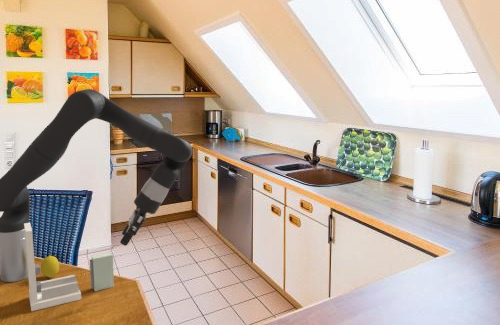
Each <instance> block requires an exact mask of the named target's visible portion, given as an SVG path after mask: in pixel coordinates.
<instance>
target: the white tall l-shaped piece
mask: <svg viewBox="0 0 500 325" xmlns="http://www.w3.org/2000/svg"><path fill="white" fill-rule="evenodd" d="M24 229H25V242H26V254H27V266H28V278H27V279H28V288H29V291H28V298H29V305H30V311H31V312H35V311H38V310H43V309H46V308H51V307H55V306H58V305H59V306H60V305H63V304H67V303H72V302H76V301H80V300H82V292H81V290H80V288H79V282H78V280H76V274H71V275H67V276H62V277H58V278H57V277H56V278H50V279H48V280H38V281H37V276H39V275H41V266H40V264H39V263H37V264H36V263H35V261H36V260H35V251H34V250H35V249H34V238H33V237H34V235H33V228H32V225H31V222H28V223H24Z"/></svg>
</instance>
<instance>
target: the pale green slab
mask: <svg viewBox="0 0 500 325" xmlns="http://www.w3.org/2000/svg"><path fill="white" fill-rule="evenodd" d="M89 275H90V287H91V288H92V289H93V290H94V292H97V291H101V290H106V289H109V288H114V287H115V278H114V255H113V254H112V252H106V253H101V254H95V255H91V259H89Z"/></svg>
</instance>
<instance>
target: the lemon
mask: <svg viewBox="0 0 500 325" xmlns="http://www.w3.org/2000/svg"><path fill="white" fill-rule="evenodd" d="M59 270H60V263H59V260H58V258H57V257H55V256H53V255H48V256H46V257H44V258H43V259H42V261H41V263H40V272H41V274H42V275H43V276H45V277H47V278H50V279H53V277H55V276H56V275H57V274H58V272H59Z"/></svg>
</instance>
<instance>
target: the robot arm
mask: <svg viewBox="0 0 500 325" xmlns="http://www.w3.org/2000/svg"><path fill="white" fill-rule="evenodd" d="M94 119H97V120H100V121H103V122H106V123H108V124H111V125H113V126H114V127H116V128H117V129H119V130H120V131H121V132H122V133H124V134H125V135H126V136H127V137H129V138H131V140H133V141H135V142H137V143H139V144H140V145H143V146H144V147H147V148H148V149H151V150H154V151H156V152H158V153H160V154H161V155H163V156H165V157H164V158H163V160H162V161H161V162H160V163H159V164H158V165H157V166H156V168H155V169H154V171H153V172H152V174H151V175H150V177H149V178H148V180H146V182H145V183H144V185H143V186H142V188H141V189H140V191H139V193H138V194H137V195H136V197H135V199H134V201H133V203H134V205H135V206H136V209H133V212H132V214H131V215H130V217H129V218H128V221H127V224H126V226H125V227H124V229H122V230H123V231H122V232H121V235H123V236H122V238H121V239H120V244H121V245H122V246H128V245H129V243H130V241H131V240H132V238H133V237H134V236H136V235H137V233H138V231H139V230H140V229H141V227H142V225H143V223H144V222H145V221H146V219H147V213H148V214H150V215H155V214H156V213H157V212H158V209H159V208H160V206H161V205H162V203H163V202H164V200H165V199H166V197H167V196H168V193H169V191H170V189H171V188H172V186H173V185H174V183H175V182H176V179H177V178H178V176H179V175H180V172H181V171H182V170H183V169H184V167H185V166H186V164H187V163H188V161H190V159H191V157H192V155H193V146H192V145H191V143H189V141H187V140H185V139H183V138H180V137H178V136H176V135H173V134H171V133H169V132H166V131H165V130H164V129H162V128H161V127H159V126H157V125H155V124H153V123H151V122H148V121H146V120H145V119H142V118H140V117H138V116H137V115H134V114H133V113H132V112H129V111H128V110H126V109H124V108H123V107H121V106H119V105H118V104H117V103H115V102H113V101H112V100H110V99H109V98H108V97H106V96H105V95H103V93H101V92H99V90H98V91H97V90H96V89H92V88H91V89H89V88H86V89H81V90H76V91H75V92H73V93H71V94H70V95H69V96H68V98H66V100H65V102H64V103H63V105H62V106H61V108H60V110H59V111H58V113H57V114H56V115H55V117H54V118H53V119H52V121H51V122H50V123H49V124H48V125H47V126H46V127H45V128H43V130H42V131H41V132H40V133H39V134H38V136H37V137H35V139H34V140H32V142H31V143H30V144H29V146H28V147H27V148H26V149H25V151H24V152H23V153H22V154H21V155H20V156H19V157H18V159H17V160H16V161H15V162H14V164H13V165H12V167H10V168H9V169H8V171H7V172H6V173H5V174H4V175H3V176H1V177H0V213H1V212H3V213H2V214H1V216H0V281H2V282H5V283H12V282H13V283H15V282H19V281H23V280H25V279H29V278H28V266H27V254H26V242H25V229H24V223H29V220H30V216H31V210H30V207H31V206H30V204H31V203H30V202H31V200H30V198H31V197H30V191H29V189H28V187H27V186H29V185H30V184H31V183H33V182H34V181H36V180H38V179H39V178H40V177H42V176H43V175H45V174H46V173H47V172H48V171H50V170H51V169H52V168H53V167H54V166H55V165H56V164H57V163H58V162H59V161H60V159H61V158H62V157H63V156H64V154H65V153H66V151H67V148H68V147H69V144H70V142H71V139H73V137H74V136H75V134H76V133H77V132H78V131H79V130H81V128H82V127H84V126H85V125H86V124H87V123H88V122H90V121H92V120H94Z"/></svg>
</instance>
